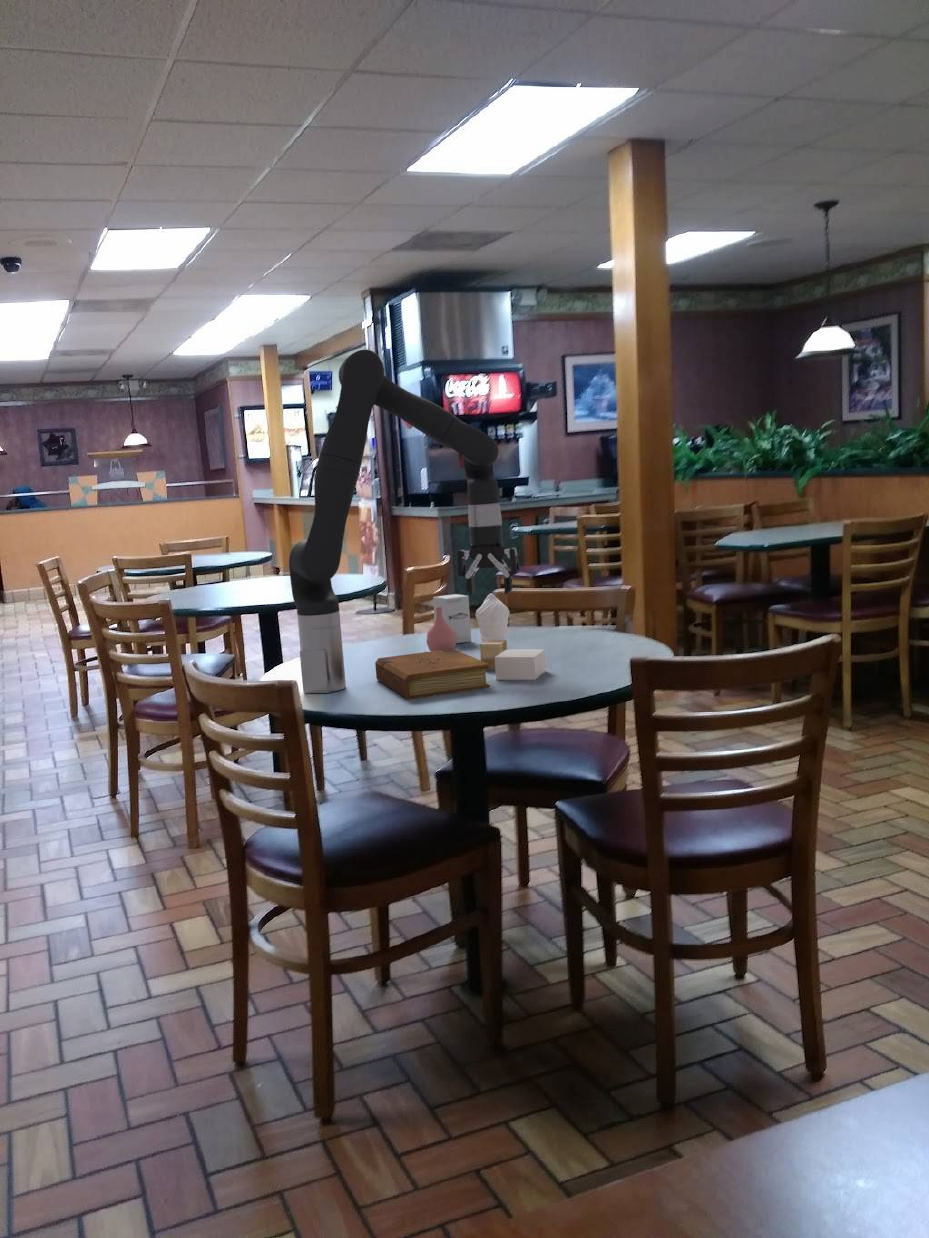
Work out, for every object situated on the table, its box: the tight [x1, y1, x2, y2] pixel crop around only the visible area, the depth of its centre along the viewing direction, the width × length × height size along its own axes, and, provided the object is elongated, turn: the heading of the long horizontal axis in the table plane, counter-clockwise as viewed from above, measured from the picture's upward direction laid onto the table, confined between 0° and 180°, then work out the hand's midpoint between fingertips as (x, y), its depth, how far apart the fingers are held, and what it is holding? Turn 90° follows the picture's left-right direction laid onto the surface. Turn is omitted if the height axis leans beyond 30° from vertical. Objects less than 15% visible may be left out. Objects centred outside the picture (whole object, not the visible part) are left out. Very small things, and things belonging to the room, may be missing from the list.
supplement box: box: [432, 593, 472, 644], centre depth 276 cm, size 7×7×13 cm
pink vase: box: [426, 607, 457, 652], centre depth 259 cm, size 8×8×12 cm
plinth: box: [494, 648, 547, 681], centre depth 227 cm, size 9×9×5 cm
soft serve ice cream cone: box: [475, 593, 510, 643], centre depth 248 cm, size 8×8×16 cm
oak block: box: [479, 639, 508, 670], centre depth 238 cm, size 5×5×6 cm
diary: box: [374, 648, 491, 700], centre depth 224 cm, size 23×19×6 cm
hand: (490, 594), depth 236 cm, fingers open, 8 cm apart
